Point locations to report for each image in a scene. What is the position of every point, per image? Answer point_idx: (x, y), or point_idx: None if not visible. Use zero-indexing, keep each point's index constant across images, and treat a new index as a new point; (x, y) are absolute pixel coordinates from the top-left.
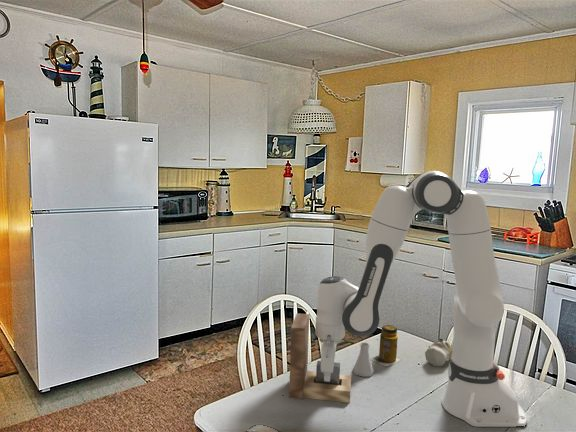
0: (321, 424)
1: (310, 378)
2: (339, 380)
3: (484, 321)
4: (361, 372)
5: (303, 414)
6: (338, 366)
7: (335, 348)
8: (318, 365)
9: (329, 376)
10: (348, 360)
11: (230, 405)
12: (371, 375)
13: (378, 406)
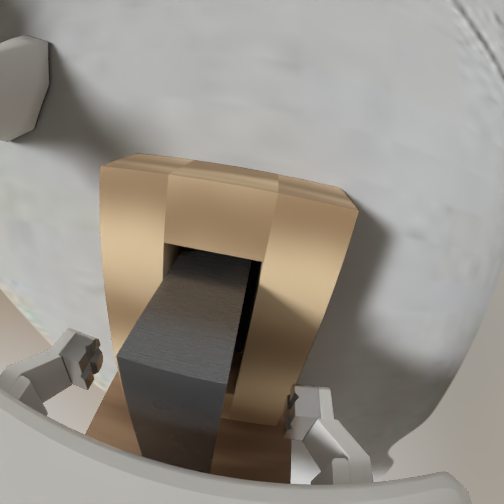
0: (464, 334)
1: None
2: (166, 252)
3: None
4: (29, 93)
5: (393, 383)
6: (206, 390)
7: (50, 494)
8: (210, 469)
9: (331, 419)
10: None
11: (305, 482)
12: (43, 41)
13: (379, 29)
